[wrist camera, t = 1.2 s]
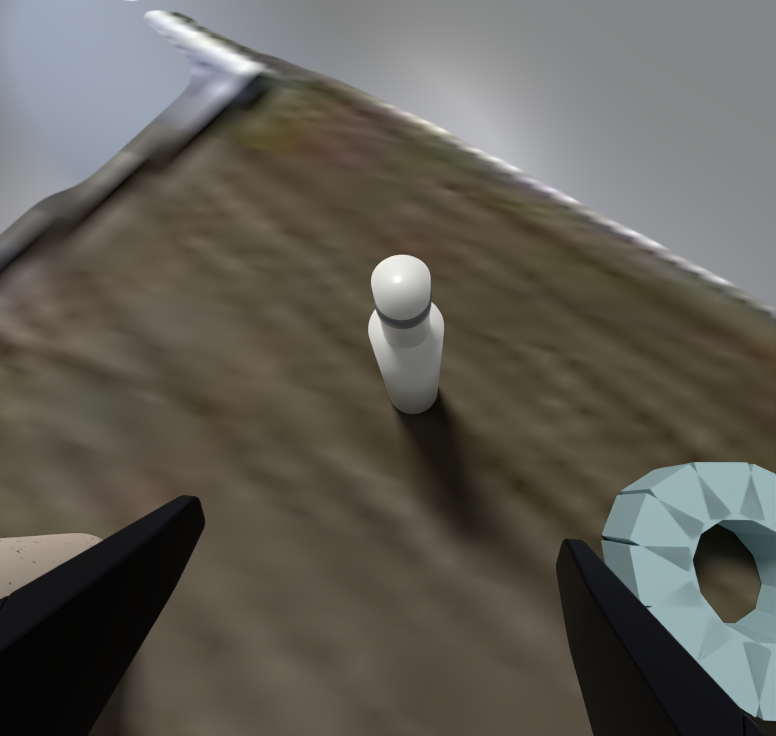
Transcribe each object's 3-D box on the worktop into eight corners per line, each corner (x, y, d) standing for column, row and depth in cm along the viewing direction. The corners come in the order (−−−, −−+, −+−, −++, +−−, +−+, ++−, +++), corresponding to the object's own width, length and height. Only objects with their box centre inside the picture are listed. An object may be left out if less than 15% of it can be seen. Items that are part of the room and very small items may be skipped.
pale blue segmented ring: (794, 741, 17) (869, 788, 14) (575, 603, 19) (600, 620, 16) (839, 532, 19) (909, 536, 16) (639, 436, 22) (671, 425, 19)
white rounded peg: (422, 423, 23) (419, 338, 12) (379, 398, 24) (335, 297, 12) (446, 380, 24) (465, 261, 12) (403, 358, 25) (384, 228, 13)
